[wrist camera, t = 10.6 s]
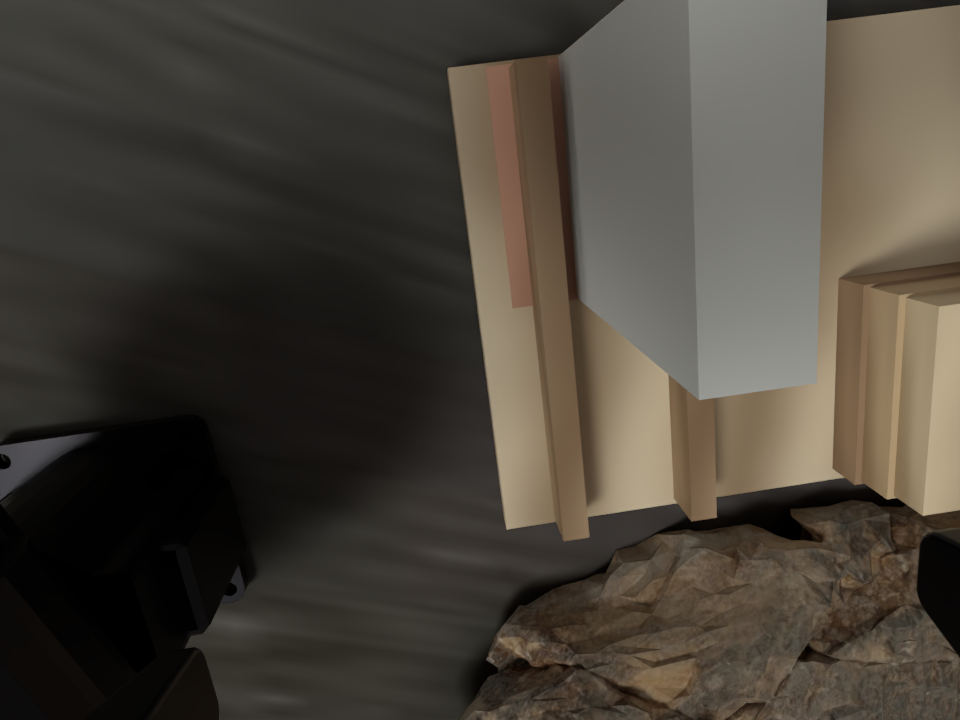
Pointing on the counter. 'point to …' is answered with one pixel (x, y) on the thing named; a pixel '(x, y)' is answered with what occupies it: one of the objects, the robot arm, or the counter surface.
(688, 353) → the panel
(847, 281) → the tan wooden square tile
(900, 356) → the oak offcut
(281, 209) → the counter surface
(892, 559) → the craggy brown boulder
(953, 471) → the pine offcut
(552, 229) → the rack
